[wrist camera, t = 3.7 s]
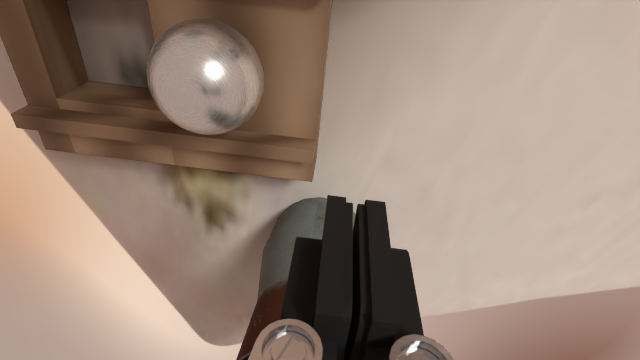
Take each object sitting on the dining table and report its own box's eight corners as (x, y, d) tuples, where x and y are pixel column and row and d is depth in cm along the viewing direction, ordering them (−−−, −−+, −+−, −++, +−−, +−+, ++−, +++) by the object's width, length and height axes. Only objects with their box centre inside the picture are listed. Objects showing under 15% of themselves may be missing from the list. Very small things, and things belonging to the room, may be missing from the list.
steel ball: (274, 15, 20) (247, 41, 15) (272, 114, 23) (250, 161, 19) (168, 3, 20) (108, 25, 15) (182, 103, 24) (136, 147, 19)
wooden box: (340, -86, 20) (336, -92, 16) (316, 157, 29) (309, 193, 25) (-8, -124, 20) (-99, -139, 16) (75, 128, 30) (30, 159, 25)
